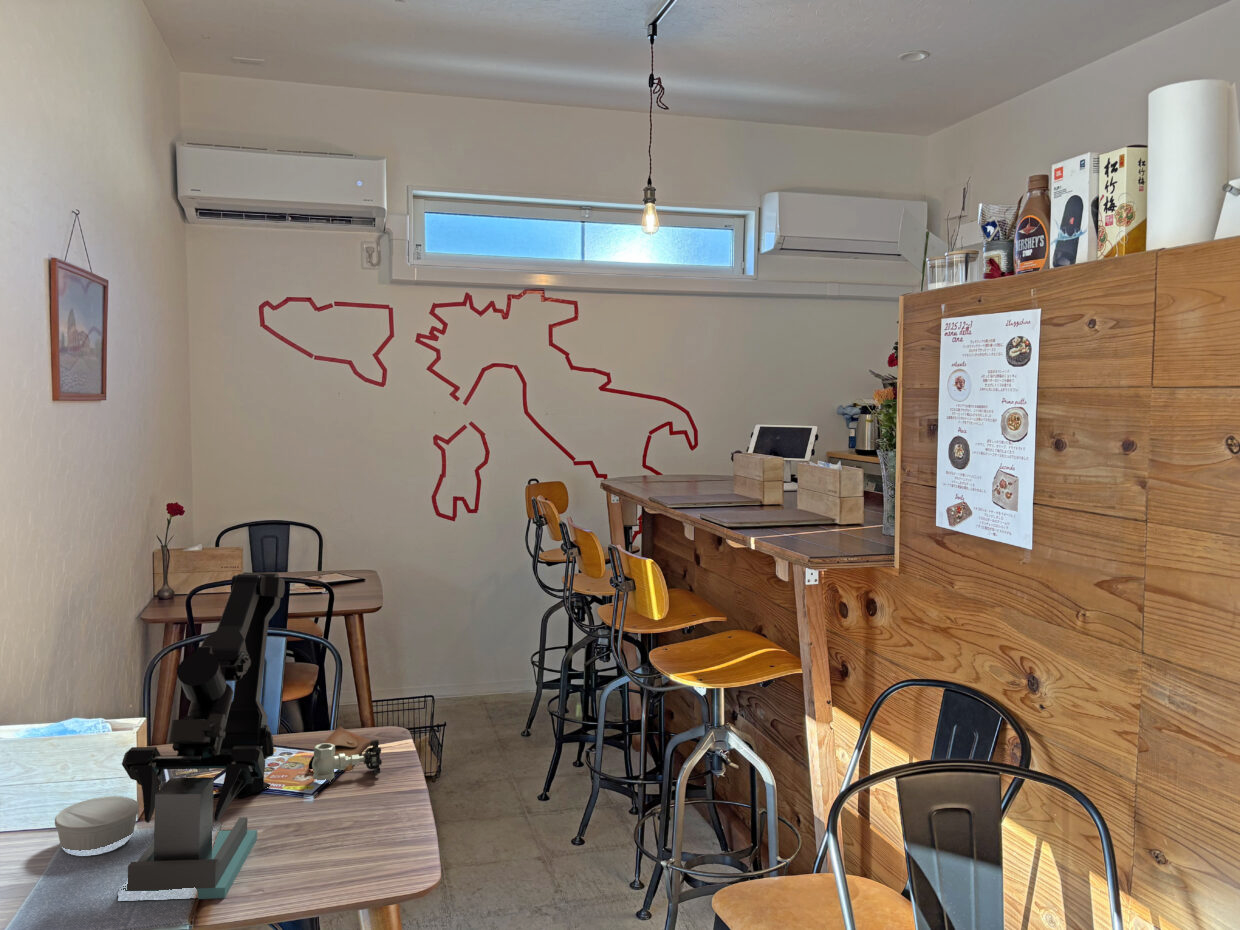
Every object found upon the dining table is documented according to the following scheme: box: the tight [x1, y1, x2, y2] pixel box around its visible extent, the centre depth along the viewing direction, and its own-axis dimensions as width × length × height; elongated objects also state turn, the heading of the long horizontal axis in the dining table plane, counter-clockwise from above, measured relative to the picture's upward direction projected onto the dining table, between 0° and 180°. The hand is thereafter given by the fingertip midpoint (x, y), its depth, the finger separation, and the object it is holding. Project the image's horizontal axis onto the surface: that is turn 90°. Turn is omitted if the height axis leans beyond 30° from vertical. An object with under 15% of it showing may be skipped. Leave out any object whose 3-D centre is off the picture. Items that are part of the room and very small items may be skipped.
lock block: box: [153, 776, 215, 861], centre depth 128 cm, size 6×6×12 cm
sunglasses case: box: [308, 725, 372, 771], centre depth 179 cm, size 18×7×7 cm, turn 3°
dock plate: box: [117, 816, 258, 900], centre depth 133 cm, size 18×14×5 cm
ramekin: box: [54, 795, 140, 851], centre depth 139 cm, size 11×11×5 cm
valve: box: [312, 739, 383, 783], centre depth 168 cm, size 7×7×12 cm
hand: (181, 820), depth 127 cm, fingers open, 9 cm apart
